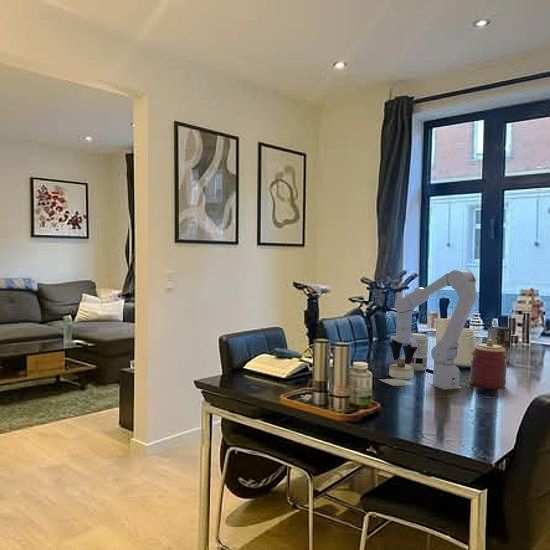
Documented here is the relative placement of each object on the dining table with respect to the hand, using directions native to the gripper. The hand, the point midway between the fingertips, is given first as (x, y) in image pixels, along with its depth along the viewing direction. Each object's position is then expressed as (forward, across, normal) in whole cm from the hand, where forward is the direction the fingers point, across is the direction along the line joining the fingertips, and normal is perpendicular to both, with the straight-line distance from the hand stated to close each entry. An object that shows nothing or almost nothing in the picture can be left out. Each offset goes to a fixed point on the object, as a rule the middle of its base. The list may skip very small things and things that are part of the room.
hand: (402, 361), depth 209 cm
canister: (+6, -19, -26) cm, 33 cm away
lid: (+3, 0, 0) cm, 3 cm away
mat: (+6, -8, +8) cm, 13 cm away
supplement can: (+6, +11, -16) cm, 20 cm away
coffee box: (+6, +18, -69) cm, 72 cm away
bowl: (+6, 0, 0) cm, 6 cm away
